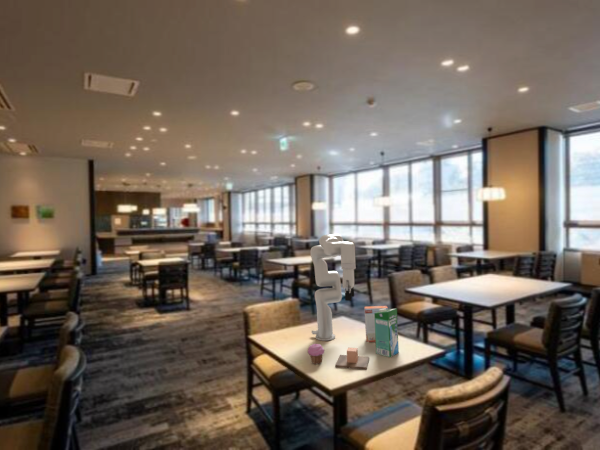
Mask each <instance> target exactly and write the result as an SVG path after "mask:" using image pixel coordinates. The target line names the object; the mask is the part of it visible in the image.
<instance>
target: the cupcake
mask: <svg viewBox="0 0 600 450" xmlns="http://www.w3.org/2000/svg"><path fill="white" fill-rule="evenodd" d="M307 353H308V355H309V356H310V360H311V362H312V364H314V365H319V364H322V362H323V355H324V354H325V349H324V347H323V346H322V345H321V344H320V343H313V344H311V345H309V347H308V348H307Z"/></svg>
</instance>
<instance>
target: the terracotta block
mask: <svg viewBox="0 0 600 450" xmlns="http://www.w3.org/2000/svg"><path fill="white" fill-rule="evenodd" d="M346 355H347V362H351V363H357V361H358V356H359V349H358V347H348V348H347V349H346Z"/></svg>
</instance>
